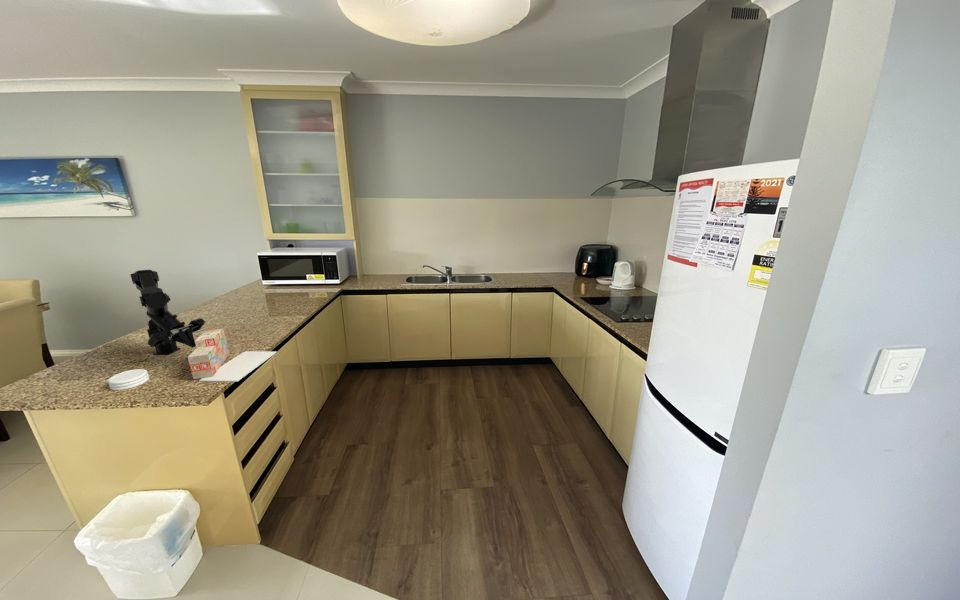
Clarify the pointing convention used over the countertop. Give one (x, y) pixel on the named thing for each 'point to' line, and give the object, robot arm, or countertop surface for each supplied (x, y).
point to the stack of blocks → (208, 353)
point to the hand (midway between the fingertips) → (194, 346)
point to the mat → (239, 366)
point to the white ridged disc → (128, 379)
